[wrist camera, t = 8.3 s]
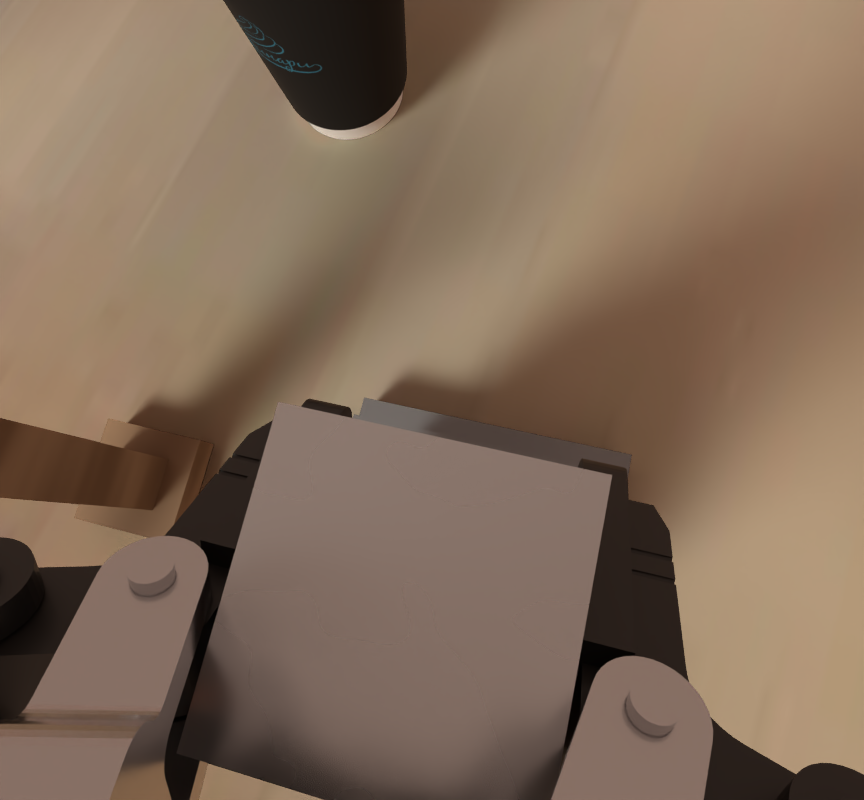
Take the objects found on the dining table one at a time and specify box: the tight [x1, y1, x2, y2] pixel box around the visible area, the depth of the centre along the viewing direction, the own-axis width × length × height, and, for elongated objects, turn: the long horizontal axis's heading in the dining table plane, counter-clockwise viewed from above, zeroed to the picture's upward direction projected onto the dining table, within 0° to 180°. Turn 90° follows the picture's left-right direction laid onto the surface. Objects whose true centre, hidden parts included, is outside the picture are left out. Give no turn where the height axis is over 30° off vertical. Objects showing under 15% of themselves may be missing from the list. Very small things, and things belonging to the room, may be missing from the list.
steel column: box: [177, 402, 612, 800], centre depth 14 cm, size 4×4×14 cm
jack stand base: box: [353, 398, 632, 477], centre depth 19 cm, size 10×10×9 cm
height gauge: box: [0, 418, 214, 538], centre depth 16 cm, size 6×4×18 cm
